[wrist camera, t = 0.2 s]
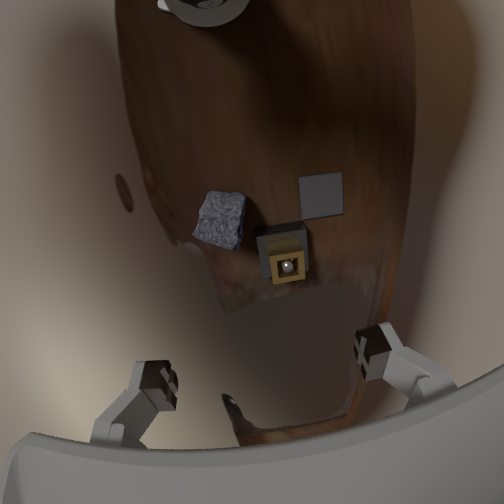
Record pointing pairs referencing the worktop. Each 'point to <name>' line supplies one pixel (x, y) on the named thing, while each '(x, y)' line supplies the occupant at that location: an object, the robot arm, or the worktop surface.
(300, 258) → the ring
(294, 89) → the worktop surface
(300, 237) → the post block
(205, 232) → the stone
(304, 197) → the mat
